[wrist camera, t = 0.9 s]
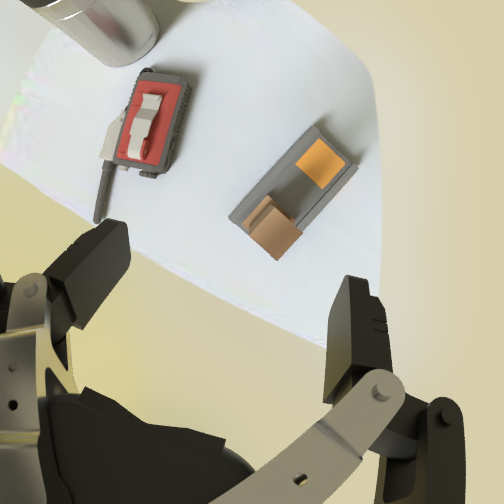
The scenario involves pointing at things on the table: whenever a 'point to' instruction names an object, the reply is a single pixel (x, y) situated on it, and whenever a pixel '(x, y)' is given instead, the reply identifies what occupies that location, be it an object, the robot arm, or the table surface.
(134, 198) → the table surface
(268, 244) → the brown wooden block
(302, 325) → the table surface
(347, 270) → the table surface
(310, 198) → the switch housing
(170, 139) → the walkie-talkie
